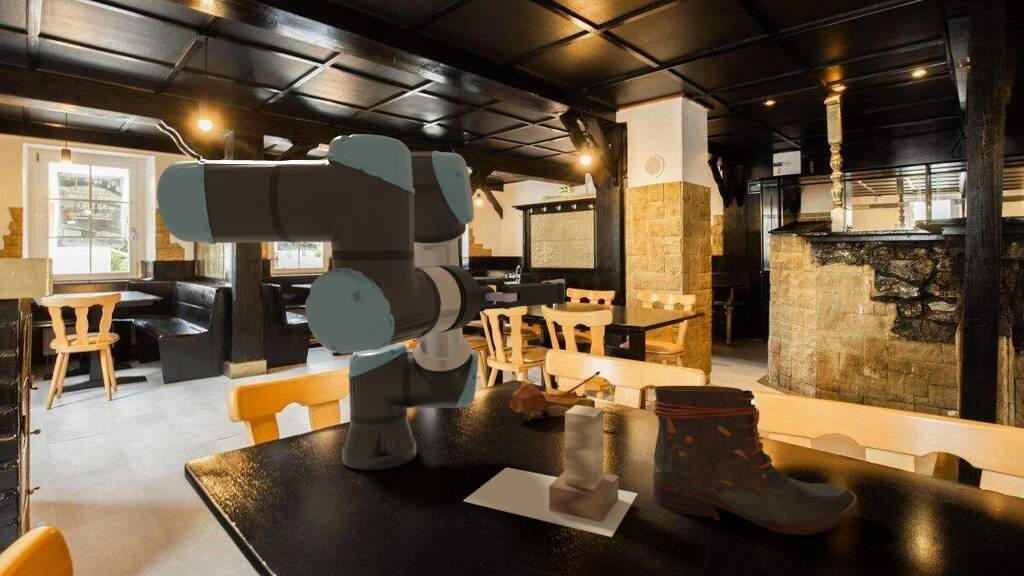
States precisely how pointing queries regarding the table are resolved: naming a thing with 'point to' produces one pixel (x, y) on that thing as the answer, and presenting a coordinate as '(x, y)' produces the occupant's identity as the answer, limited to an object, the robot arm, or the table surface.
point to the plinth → (584, 498)
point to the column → (584, 446)
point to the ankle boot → (732, 465)
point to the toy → (546, 399)
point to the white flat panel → (542, 501)
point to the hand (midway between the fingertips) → (519, 287)
